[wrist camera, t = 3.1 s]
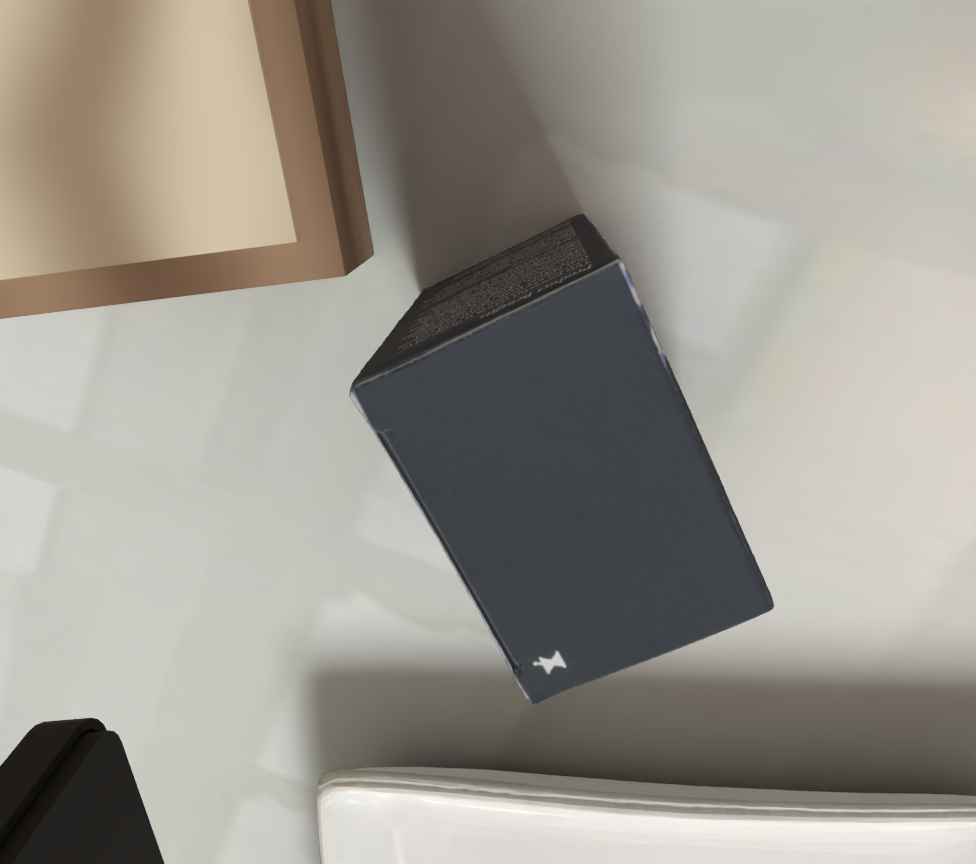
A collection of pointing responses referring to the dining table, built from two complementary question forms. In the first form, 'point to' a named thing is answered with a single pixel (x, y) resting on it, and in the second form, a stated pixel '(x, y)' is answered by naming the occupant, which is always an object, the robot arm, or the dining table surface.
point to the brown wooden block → (172, 151)
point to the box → (560, 463)
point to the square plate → (624, 822)
